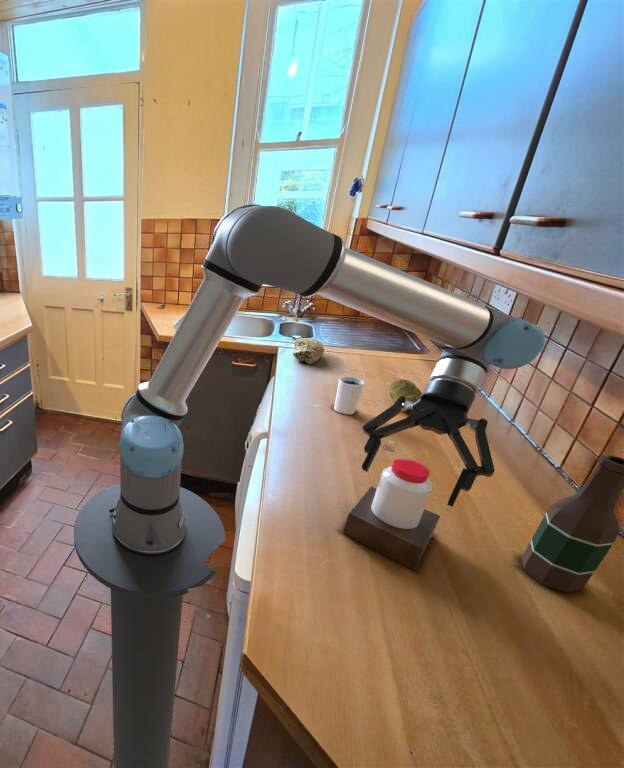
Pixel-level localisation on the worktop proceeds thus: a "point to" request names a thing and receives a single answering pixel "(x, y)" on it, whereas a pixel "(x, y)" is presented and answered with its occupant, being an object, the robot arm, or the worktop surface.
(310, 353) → the tan rock
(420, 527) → the walnut block
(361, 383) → the white cup
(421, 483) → the pill bottle
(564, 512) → the beer bottle
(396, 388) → the avocado
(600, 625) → the worktop surface
